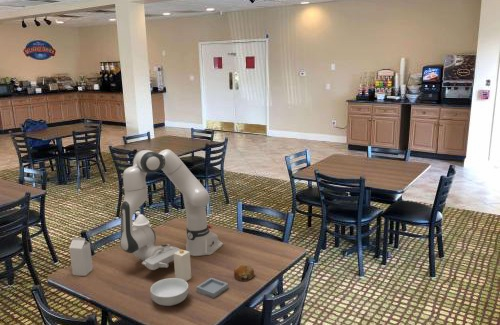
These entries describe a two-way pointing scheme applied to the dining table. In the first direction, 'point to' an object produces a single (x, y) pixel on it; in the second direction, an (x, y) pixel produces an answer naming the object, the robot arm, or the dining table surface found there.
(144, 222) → the honey pot
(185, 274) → the juice box
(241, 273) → the bread roll
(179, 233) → the dining table surface
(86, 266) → the milk carton
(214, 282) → the tray
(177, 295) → the cereal bowl
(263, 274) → the dining table surface
